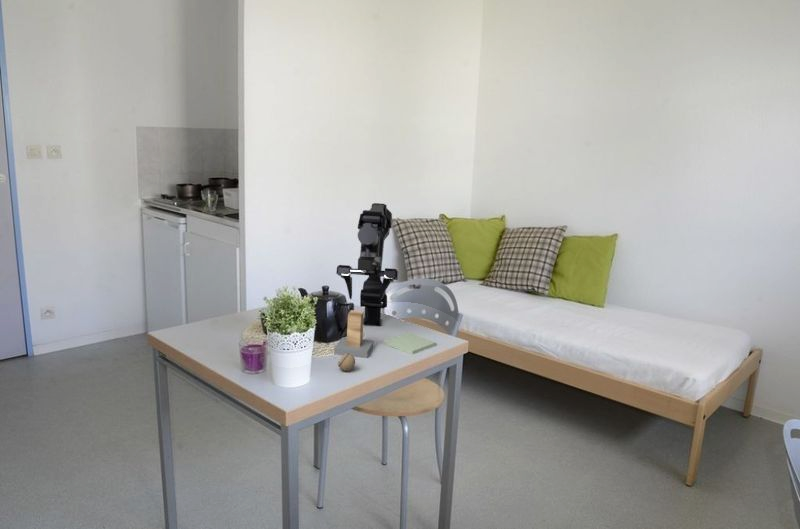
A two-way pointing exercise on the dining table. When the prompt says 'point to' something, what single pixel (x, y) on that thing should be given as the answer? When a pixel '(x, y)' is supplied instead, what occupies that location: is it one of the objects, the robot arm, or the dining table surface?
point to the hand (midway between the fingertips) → (365, 300)
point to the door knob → (346, 362)
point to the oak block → (355, 328)
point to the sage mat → (409, 343)
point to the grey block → (354, 348)
